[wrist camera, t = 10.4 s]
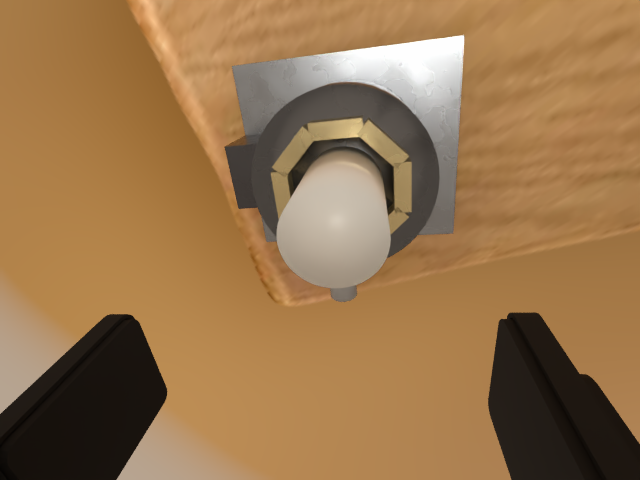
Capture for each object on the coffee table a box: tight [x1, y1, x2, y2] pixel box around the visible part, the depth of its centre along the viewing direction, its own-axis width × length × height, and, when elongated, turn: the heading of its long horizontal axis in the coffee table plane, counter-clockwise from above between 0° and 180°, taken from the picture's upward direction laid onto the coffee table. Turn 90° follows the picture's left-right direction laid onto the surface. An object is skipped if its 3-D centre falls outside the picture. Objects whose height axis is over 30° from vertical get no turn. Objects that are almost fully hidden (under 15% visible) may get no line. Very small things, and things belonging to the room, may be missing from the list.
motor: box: [225, 35, 464, 258], centre depth 27 cm, size 18×16×12 cm
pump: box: [277, 146, 391, 302], centre depth 19 cm, size 5×7×8 cm
